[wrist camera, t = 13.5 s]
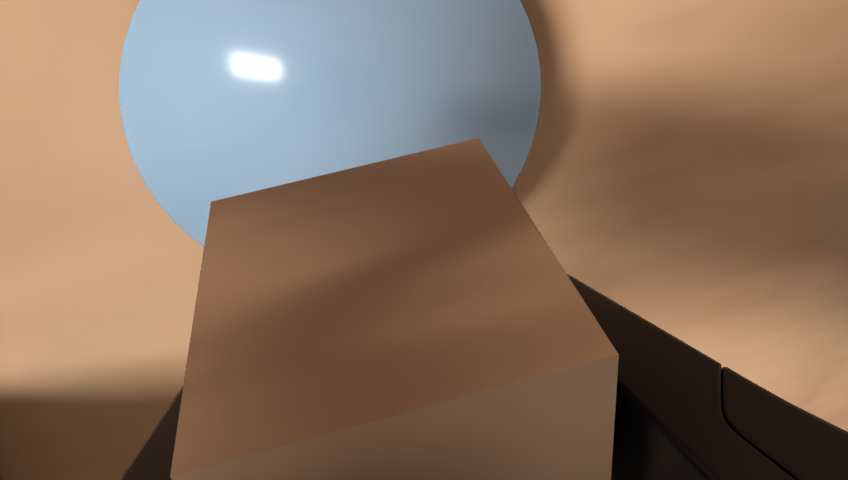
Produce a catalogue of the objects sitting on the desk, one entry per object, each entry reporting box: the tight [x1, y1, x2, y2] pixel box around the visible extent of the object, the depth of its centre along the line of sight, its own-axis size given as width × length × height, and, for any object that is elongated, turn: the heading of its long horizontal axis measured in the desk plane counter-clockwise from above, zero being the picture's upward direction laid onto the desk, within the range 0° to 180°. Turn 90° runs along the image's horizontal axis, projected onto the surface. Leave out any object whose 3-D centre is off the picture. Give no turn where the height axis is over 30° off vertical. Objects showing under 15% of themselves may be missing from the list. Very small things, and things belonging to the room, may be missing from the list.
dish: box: [119, 0, 541, 246], centre depth 15 cm, size 10×10×1 cm
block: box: [170, 138, 619, 480], centre depth 8 cm, size 4×4×4 cm
